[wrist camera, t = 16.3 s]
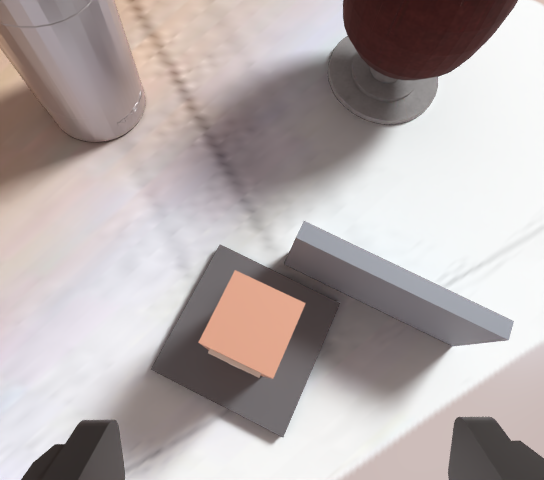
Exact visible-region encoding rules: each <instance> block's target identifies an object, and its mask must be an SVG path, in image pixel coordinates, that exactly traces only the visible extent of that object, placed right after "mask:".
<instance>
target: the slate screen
mask: <svg viewBox="0 0 544 480" xmlns="http://www.w3.org/2000/svg"><path fill="white" fill-rule="evenodd" d="M284 264H285V265H287V266H289V267H291V268H293V269H295V270H297V271H299V272H301V273H303V274H305V275H307V276H309V277H311V278H314V279H316V280H318V281H320V282H322V283H324V284H326V285H328V286H330V287H332V288H334V289H336V290H338V291H340V292H342V293H344V294H346V295H348V296H350V297H353V298H355V299H357V300H359V301H361V302H363V303H365V304H367V305H369V306H371V307H373V308H375V309H377V310H379V311H381V312H383V313H385V314H387V315H389V316H392V317H394V318H396V319H398V320H400V321H402V322H404V323H406V324H408V325H410V326H412V327H414V328H416V329H418V330H420V331H422V332H424V333H426V334H428V335H431V336H433V337H435V338H437V339H439V340H441V341H443V342H445V343H447V344H449V345H451V346H460V345H469V344H478V343H487V342H496V341H505V340H509V337H510V333H511V329H512V326H513V322H514V321H512V320H510V319H508V318H506V317H504V316H502V315H500V314H498V313H496V312H494V311H491V310H489V309H487V308H485V307H483V306H481V305H479V304H477V303H475V302H473V301H471V300H468V299H466V298H464V297H462V296H460V295H458V294H456V293H454V292H452V291H450V290H448V289H445V288H443V287H441V286H439V285H437V284H435V283H433V282H431V281H429V280H427V279H425V278H422V277H420V276H418V275H416V274H414V273H412V272H410V271H408V270H406V269H404V268H402V267H399V266H397V265H395V264H393V263H391V262H389V261H387V260H385V259H383V258H381V257H379V256H376V255H374V254H372V253H370V252H368V251H366V250H364V249H362V248H360V247H358V246H356V245H353V244H351V243H349V242H347V241H345V240H343V239H341V238H339V237H337V236H335V235H333V234H330V233H328V232H326V231H324V230H322V229H320V228H318V227H316V226H314V225H312V224H310V223H307V222H305V221H304V222H303V224H302V226H301V228H300V230H299V232H298V234H297V237H296V239H295V241H294V243H293V245H292V248H291V250H290V252H289V254H288V256H287V259H286V261H285V263H284Z"/></svg>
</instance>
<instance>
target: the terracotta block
mask: <svg viewBox="0 0 544 480" xmlns="http://www.w3.org/2000/svg"><path fill="white" fill-rule="evenodd" d="M305 304H306V303H304V302H302V301H300V300H298V299H296V298H293V297H291V296H289V295H287V294H285V293H283V292H281V291H279V290H276V289H274V288H272V287H270V286H268V285H266V284H264V283H262V282H259V281H257V280H255V279H253V278H251V277H249V276H247V275H245V274H242V273H240V272H238V271H236V270H235V271H234V273H233V275H232V277H231V279H230V281H229V283H228V285H227V287H226V289H225V291H224V293H223V295H222V297H221V299H220V301H219V303H218V305H217V307H216V309H215V311H214V313H213V315H212V316H211V318H210V320H209V322H208V324H207V326H206V328H205V330H204V332H203V334H202V336H201V338H200V340H199V342H198V343H200V344H201V345H202V346H204V347H205V348H206V349H208V350H209V351H208V353H209V354H211V355H213V356H215V357H217V358H219V359H221V360H223V361H225V362H227V363H229V364H230V365H232V366H235V367H237V368H239V369H242V370H244V371H246V372H248V373H250V374H252V375H254V376H256V377H258V378H260V376H263V377H268V378H272V379H273V378H274V376H275V373H276V371H277V369H278V366H279V364H280V362H281V359H282V357H283V355H284V352H285V350H286V348H287V346H288V343H289V341H290V339H291V336H292V334H293V332H294V329H295V327H296V325H297V322H298V320H299V318H300V315H301V313H302V311H303V308H304V306H305Z"/></svg>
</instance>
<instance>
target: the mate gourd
mask: <svg viewBox="0 0 544 480" xmlns="http://www.w3.org/2000/svg"><path fill="white" fill-rule="evenodd" d="M517 1H518V0H344V1H343V19H344V26H345V29H346V32H347V35H348V36H347V37H345V38H344V39H343V40H341V41H340V42H339V43H338V44H337V46H336V47H335V49H334V50H333V53H332V55H331V58H330V61H329V66H328V77H329V83H330V85H331V88H332V91H333V92H334V94H335V96H336V97H337V99H338V100H339V101H340V102H341V103H342V104H343V106H344V107H346V108H347V109H348V110H349V111H351V112H352V113H353V114H355V115H357V116H359V117H361V118H363V119H365V120H368V121H371V122H374V123H380V124H399V123H405V122H408V121H410V120H413V119H415V118H416V117H418V116H419V115H421V114H422V113H423V112H424V111H425V110H426V109H427V108H428V107H429V106H430V104H431V103H432V101H433V99H434V97H435V95H436V92H437V88H438V76H441V75H444V74H446V73H449V72H451V71H452V70H454V69H455V68H457V67H458V66H460V65H461V64H462V63H464V62H465V61H466V60H467V59H469V58H470V57H471V56H472V55H473V54H474V53H475V52H476V51H477V50H478V49H479V48H480V47H481V46H482V45H483V44H484V43H486V42H487V40H488V39H489V38H490V37H491V36H492V35H493V34H494V33H495V32H496V30H497V29H498V28H499V26H500V25H501V24H502V22H503V21H504V20H505V19H506V17H507V16H508V15H509V13H510V12H511V11H512V9H513V8H514V6H515V5H516V3H517Z"/></svg>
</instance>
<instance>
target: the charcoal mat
mask: <svg viewBox="0 0 544 480" xmlns="http://www.w3.org/2000/svg"><path fill="white" fill-rule="evenodd" d="M235 270H236V271H238V272H240V273H242V274H245V275H247V276H249V277H251V278H253V279H255V280H257V281H259V282H262V283H264V284H266V285H268V286H270V287H272V288H274V289H276V290H279V291H281V292H283V293H285V294H287V295H289V296H291V297H293V298H296V299H298V300H300V301H302V302H304V303H306V304H305V306H304V308H303V311H302V313H301V315H300V318H299V320H298V322H297V325H296V327H295V329H294V332H293V334H292V336H291V339H290V341H289V343H288V346H287V348H286V350H285V352H284V355H283V357H282V359H281V362H280V364H279V366H278V369H277V371H276V373H275V376H274V378H273V379H272V378H268V377H263V376H260V378H258V377H256V376H254V375H252V374H250V373H248V372H246V371H244V370H242V369H239V368H237V367H235V366H232V365H230V364H229V363H227V362H225V361H223V360H221V359H219V358H217V357H215V356H213V355H211V354H209V353H208V351H209V350H208V349H206V348H205V347H204V346H202V345H201V344H200V343H198V342H199V340H200V338H201V336H202V334H203V332H204V330H205V328H206V326H207V324H208V322H209V320H210V318H211V316H212V315H213V313H214V311H215V309H216V307H217V305H218V303H219V301H220V299H221V297H222V295H223V293H224V291H225V289H226V287H227V285H228V283H229V281H230V279H231V277H232V275H233V273H234V271H235ZM339 304H340V303H339V302H337V301H335V300H333V299H331V298H329V297H327V296H325V295H322V294H320V293H318V292H316V291H314V290H312V289H310V288H308V287H306V286H304V285H302V284H300V283H298V282H296V281H294V280H292V279H290V278H288V277H286V276H284V275H282V274H280V273H277V272H275V271H273V270H271V269H269V268H267V267H265V266H263V265H261V264H259V263H257V262H255V261H253V260H251V259H249V258H247V257H245V256H243V255H241V254H239V253H237V252H235V251H232V250H230V249H228V248H226V247H224V246H222V245H219V247H218V249H217V251H216V252H215V254H214V256H213V258H212V260H211V261H210V263H209V265H208V267H207V269H206V271H205V272H204V274H203V276H202V278H201V280H200V281H199V283H198V285H197V287H196V289H195V290H194V292H193V294H192V296H191V298H190V299H189V301H188V303H187V305H186V307H185V309H184V310H183V312H182V314H181V316H180V318H179V319H178V321H177V323H176V325H175V327H174V328H173V330H172V332H171V334H170V336H169V337H168V339H167V341H166V343H165V345H164V347H163V348H162V350H161V352H160V354H159V356H158V357H157V359H156V361H155V363H154V365H153V366H152V368H151V370H153V371H155V372H157V373H159V374H161V375H163V376H165V377H167V378H169V379H171V380H173V381H174V382H176V383H178V384H180V385H182V386H184V387H186V388H188V389H190V390H192V391H194V392H196V393H198V394H200V395H202V396H204V397H206V398H207V399H209V400H211V401H213V402H215V403H217V404H219V405H221V406H223V407H225V408H227V409H229V410H231V411H233V412H235V413H237V414H239V415H240V416H242V417H244V418H246V419H248V420H250V421H252V422H254V423H256V424H258V425H260V426H262V427H264V428H266V429H268V430H270V431H271V432H273V433H275V434H277V435H279V436H281V437H283V436H284V434H285V432H286V429H287V427H288V425H289V422H290V420H291V418H292V415H293V413H294V410H295V408H296V406H297V403H298V401H299V399H300V396H301V394H302V392H303V389H304V387H305V384H306V382H307V380H308V377H309V375H310V373H311V370H312V368H313V366H314V363H315V361H316V359H317V356H318V354H319V351H320V349H321V347H322V344H323V342H324V340H325V337H326V335H327V333H328V330H329V328H330V326H331V323H332V321H333V318H334V316H335V314H336V311H337V309H338V307H339Z"/></svg>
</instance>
